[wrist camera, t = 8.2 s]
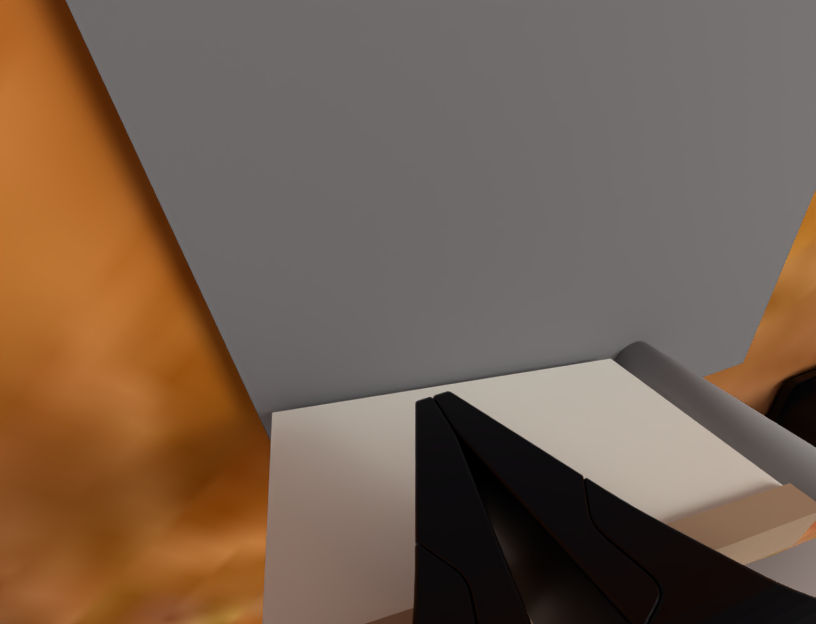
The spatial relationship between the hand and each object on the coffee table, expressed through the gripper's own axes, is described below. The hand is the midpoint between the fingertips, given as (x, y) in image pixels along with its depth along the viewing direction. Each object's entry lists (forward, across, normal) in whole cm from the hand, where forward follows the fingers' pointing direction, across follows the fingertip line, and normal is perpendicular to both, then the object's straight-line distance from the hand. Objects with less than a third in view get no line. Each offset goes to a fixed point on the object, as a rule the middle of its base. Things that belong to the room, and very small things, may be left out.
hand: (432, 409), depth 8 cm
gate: (+4, -2, +4) cm, 6 cm away
